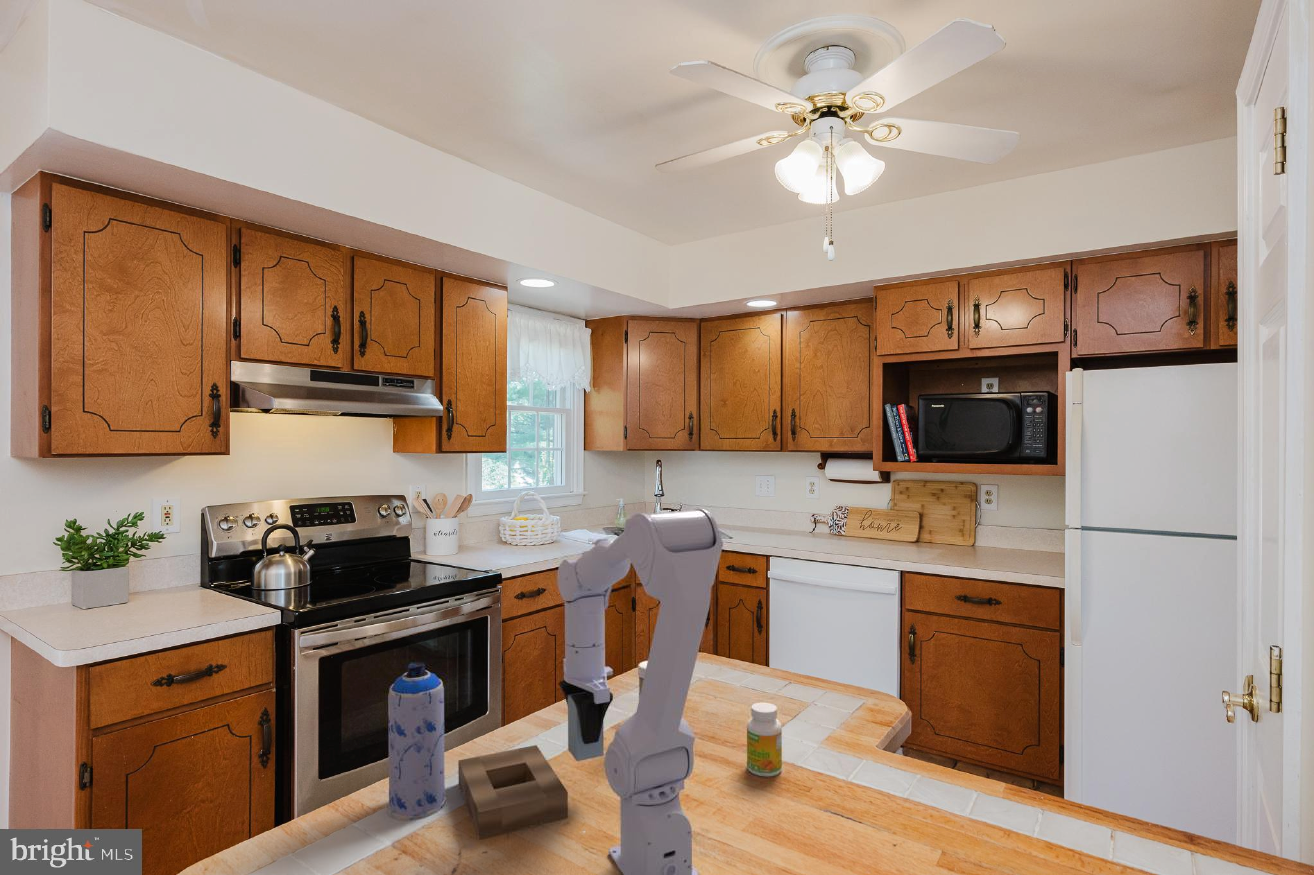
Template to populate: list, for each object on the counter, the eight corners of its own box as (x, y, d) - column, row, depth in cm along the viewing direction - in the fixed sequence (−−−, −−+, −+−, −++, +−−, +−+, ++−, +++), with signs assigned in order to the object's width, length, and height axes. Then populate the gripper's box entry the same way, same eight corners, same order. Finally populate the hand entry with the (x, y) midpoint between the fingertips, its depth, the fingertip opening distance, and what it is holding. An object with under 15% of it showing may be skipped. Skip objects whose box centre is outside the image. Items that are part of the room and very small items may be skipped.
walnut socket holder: (567, 817, 96) (567, 792, 96) (479, 839, 91) (478, 812, 91) (536, 767, 111) (536, 745, 111) (458, 783, 106) (458, 760, 105)
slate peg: (603, 755, 100) (603, 700, 100) (576, 761, 99) (576, 704, 99) (594, 744, 104) (593, 690, 104) (568, 749, 102) (567, 695, 102)
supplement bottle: (741, 772, 109) (741, 710, 108) (753, 758, 113) (753, 698, 113) (775, 780, 106) (775, 716, 106) (786, 765, 111) (786, 704, 111)
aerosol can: (457, 799, 101) (456, 660, 101) (413, 826, 94) (412, 677, 94) (420, 785, 105) (419, 652, 105) (375, 810, 98) (374, 667, 98)
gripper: (630, 652, 96) (630, 750, 96) (594, 626, 109) (594, 713, 110) (581, 659, 93) (581, 761, 93) (550, 631, 107) (550, 721, 107)
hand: (585, 736), depth 101 cm, fingers closed on slate peg, 4 cm apart
